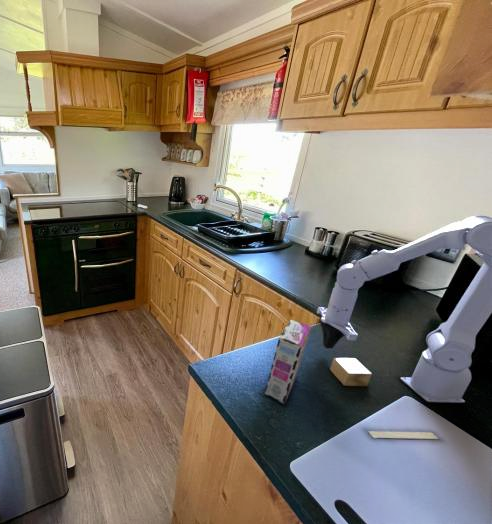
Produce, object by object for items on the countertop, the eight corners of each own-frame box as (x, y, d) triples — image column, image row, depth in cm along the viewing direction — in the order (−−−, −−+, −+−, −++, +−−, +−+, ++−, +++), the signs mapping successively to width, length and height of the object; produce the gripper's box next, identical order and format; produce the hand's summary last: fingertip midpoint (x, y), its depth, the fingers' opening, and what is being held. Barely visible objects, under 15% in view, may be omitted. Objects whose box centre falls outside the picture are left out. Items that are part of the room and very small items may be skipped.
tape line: (431, 432, 62) (431, 432, 62) (438, 439, 60) (438, 438, 60) (367, 431, 61) (367, 431, 61) (373, 437, 60) (373, 437, 60)
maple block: (351, 370, 80) (355, 358, 78) (367, 386, 74) (372, 373, 73) (329, 369, 80) (333, 357, 78) (344, 385, 74) (348, 373, 73)
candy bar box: (285, 405, 67) (302, 346, 61) (263, 394, 70) (277, 337, 64) (297, 379, 75) (312, 325, 70) (277, 370, 78) (290, 318, 73)
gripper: (311, 294, 87) (301, 332, 92) (344, 319, 74) (330, 362, 78) (334, 294, 87) (323, 333, 92) (371, 320, 74) (355, 363, 78)
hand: (327, 346), depth 85 cm, fingers closed
